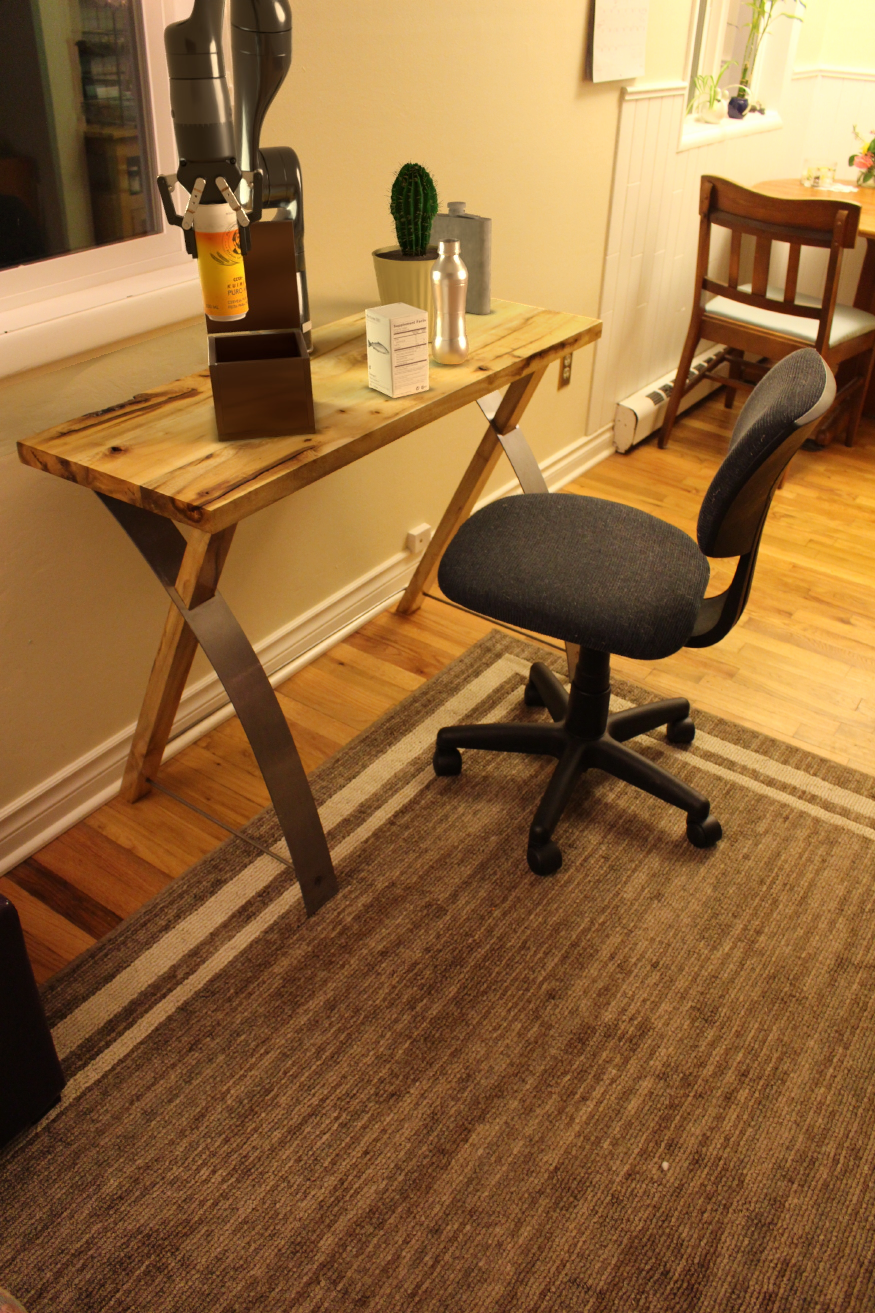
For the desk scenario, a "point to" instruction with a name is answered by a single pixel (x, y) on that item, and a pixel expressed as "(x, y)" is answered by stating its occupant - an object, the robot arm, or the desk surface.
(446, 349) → the metal water bottle
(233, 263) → the beer can
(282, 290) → the lid
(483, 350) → the desk surface
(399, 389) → the white packaging box
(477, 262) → the hip flask
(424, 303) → the potted cactus
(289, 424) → the chest
